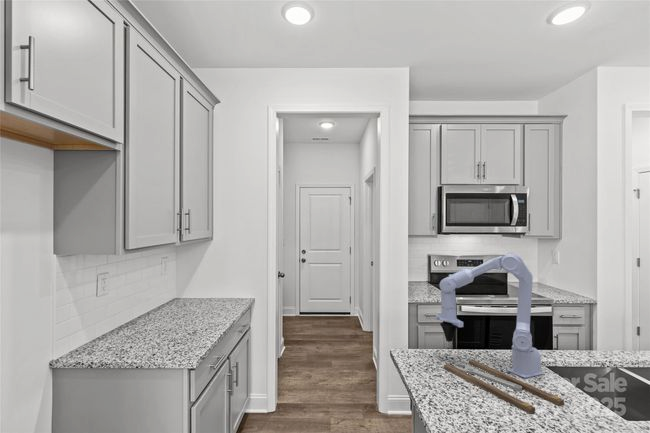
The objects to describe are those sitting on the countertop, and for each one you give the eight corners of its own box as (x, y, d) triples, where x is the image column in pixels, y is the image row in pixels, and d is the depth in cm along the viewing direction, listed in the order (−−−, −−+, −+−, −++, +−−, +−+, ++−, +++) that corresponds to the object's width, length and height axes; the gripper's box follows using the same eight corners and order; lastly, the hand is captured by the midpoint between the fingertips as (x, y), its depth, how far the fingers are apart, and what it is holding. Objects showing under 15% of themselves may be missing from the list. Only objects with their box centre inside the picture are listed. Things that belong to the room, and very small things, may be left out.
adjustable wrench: (524, 391, 124) (524, 386, 124) (512, 396, 120) (512, 390, 120) (463, 367, 145) (463, 362, 145) (451, 370, 142) (451, 365, 142)
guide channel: (472, 363, 148) (472, 359, 148) (564, 405, 113) (564, 399, 113) (443, 368, 143) (443, 364, 143) (530, 414, 108) (529, 408, 108)
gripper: (429, 304, 156) (430, 337, 156) (452, 311, 143) (453, 347, 142) (443, 303, 159) (443, 335, 158) (467, 310, 145) (468, 345, 145)
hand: (449, 341), depth 150 cm, fingers closed
